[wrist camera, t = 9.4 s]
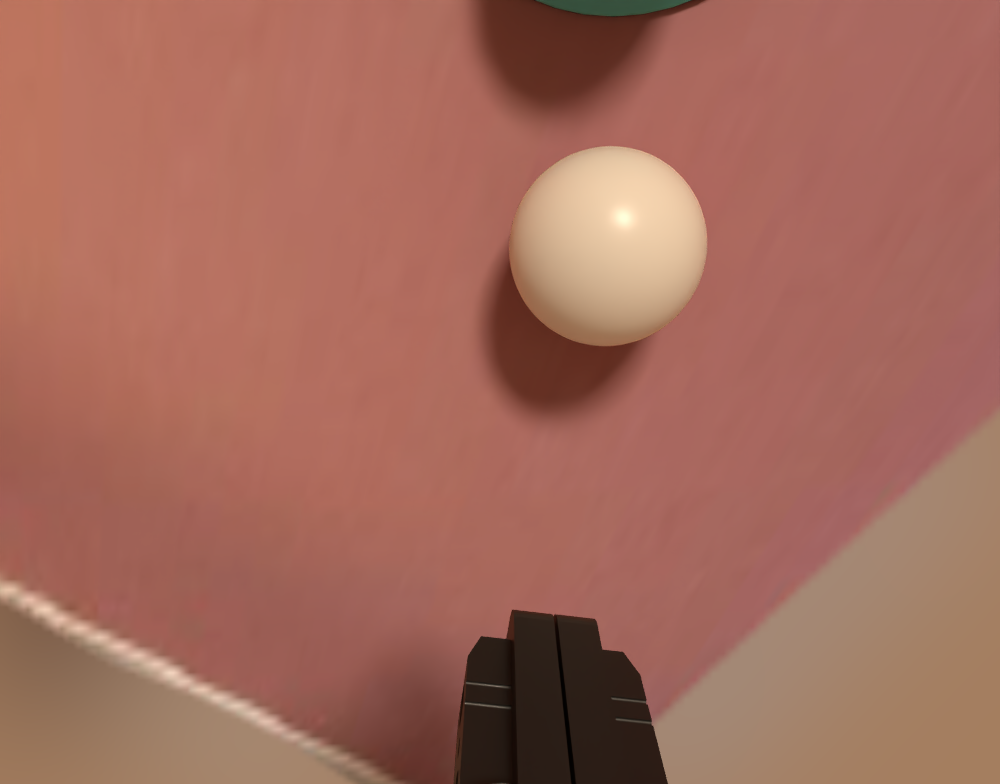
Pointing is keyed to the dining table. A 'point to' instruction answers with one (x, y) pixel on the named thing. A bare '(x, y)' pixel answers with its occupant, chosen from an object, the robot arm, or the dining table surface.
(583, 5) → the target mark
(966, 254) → the dining table surface
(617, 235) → the cue ball
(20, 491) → the dining table surface
